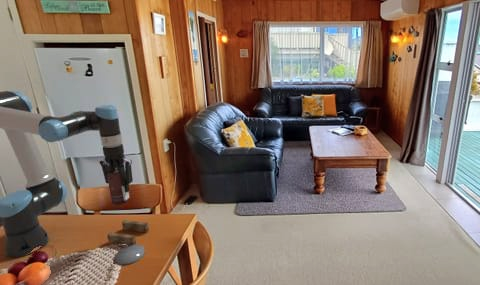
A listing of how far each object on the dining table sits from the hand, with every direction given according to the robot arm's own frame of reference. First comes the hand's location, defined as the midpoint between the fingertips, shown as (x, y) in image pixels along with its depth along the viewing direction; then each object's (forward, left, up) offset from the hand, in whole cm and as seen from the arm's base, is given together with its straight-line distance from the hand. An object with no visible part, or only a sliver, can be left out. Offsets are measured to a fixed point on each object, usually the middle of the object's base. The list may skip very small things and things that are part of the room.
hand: (122, 198), depth 122 cm
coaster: (+8, -11, -18) cm, 23 cm away
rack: (0, 0, -18) cm, 18 cm away
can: (-1, 0, -2) cm, 2 cm away
